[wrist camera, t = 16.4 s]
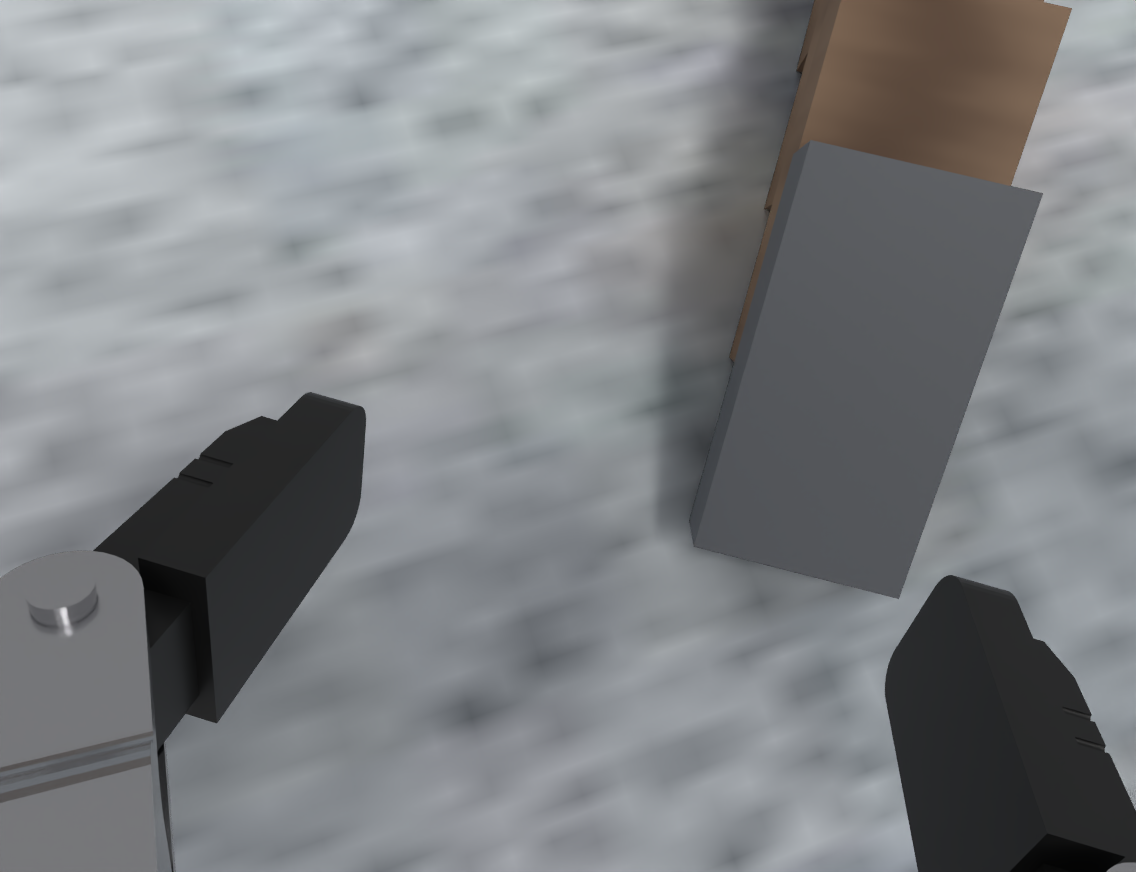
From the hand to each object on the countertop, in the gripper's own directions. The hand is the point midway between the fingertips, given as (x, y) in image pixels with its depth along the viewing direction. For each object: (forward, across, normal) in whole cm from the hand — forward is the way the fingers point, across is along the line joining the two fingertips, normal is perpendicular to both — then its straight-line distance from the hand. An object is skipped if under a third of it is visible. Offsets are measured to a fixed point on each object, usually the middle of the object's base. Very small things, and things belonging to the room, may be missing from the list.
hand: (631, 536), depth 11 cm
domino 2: (+8, -4, +5) cm, 10 cm away
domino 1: (+11, -4, +2) cm, 12 cm away
